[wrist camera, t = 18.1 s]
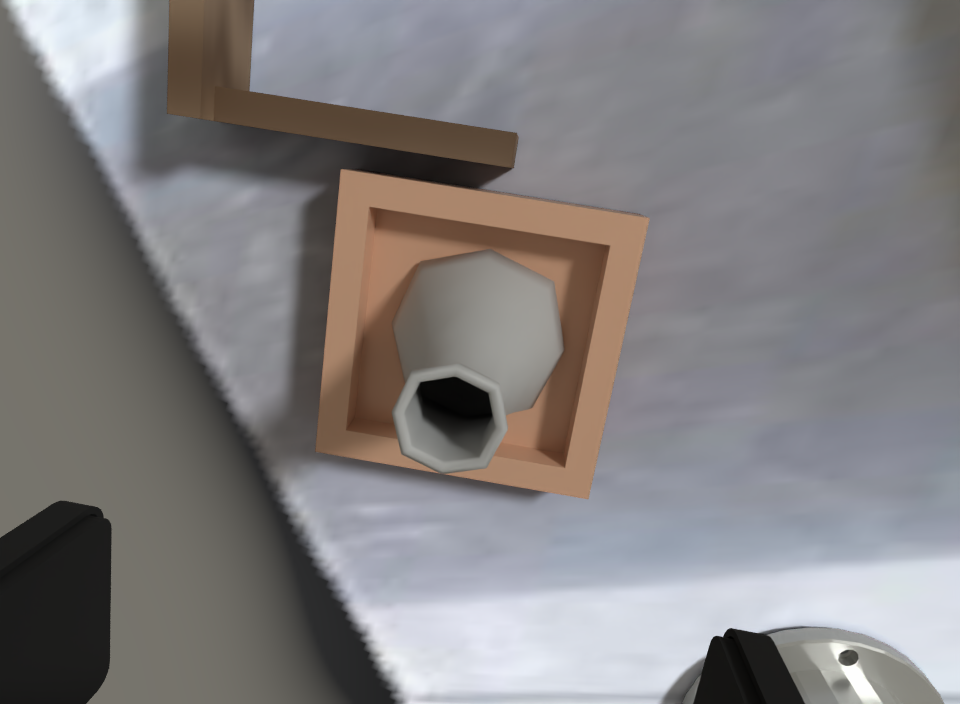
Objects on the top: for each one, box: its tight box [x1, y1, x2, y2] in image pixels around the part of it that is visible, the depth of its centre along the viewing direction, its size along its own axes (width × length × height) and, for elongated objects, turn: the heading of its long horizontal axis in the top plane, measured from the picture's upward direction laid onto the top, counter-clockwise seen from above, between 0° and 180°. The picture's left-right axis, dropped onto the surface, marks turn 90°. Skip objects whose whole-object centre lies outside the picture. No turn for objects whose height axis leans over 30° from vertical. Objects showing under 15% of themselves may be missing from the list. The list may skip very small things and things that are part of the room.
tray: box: [315, 169, 650, 499], centre depth 27 cm, size 12×12×2 cm
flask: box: [392, 249, 565, 474], centre depth 23 cm, size 7×7×10 cm
